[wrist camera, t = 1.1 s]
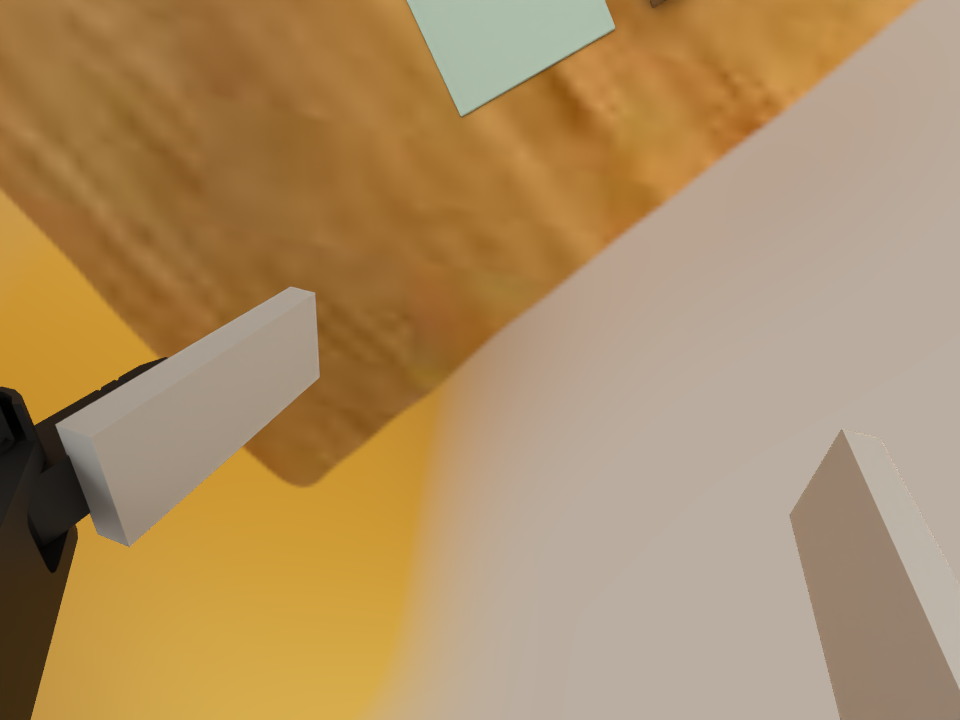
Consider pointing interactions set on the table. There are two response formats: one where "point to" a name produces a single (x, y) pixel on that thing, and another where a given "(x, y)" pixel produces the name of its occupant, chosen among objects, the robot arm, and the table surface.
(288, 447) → the table surface
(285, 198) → the table surface
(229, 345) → the robot arm
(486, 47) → the mat
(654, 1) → the holder
